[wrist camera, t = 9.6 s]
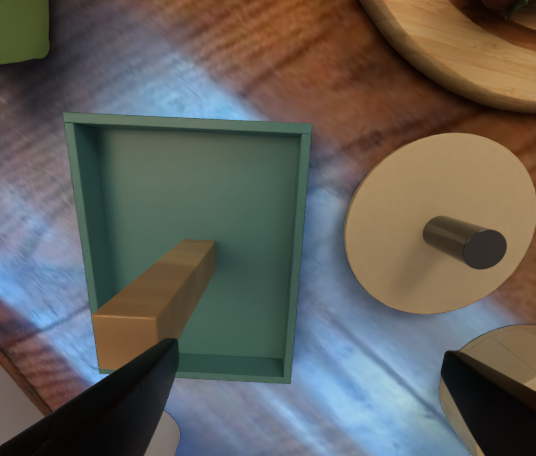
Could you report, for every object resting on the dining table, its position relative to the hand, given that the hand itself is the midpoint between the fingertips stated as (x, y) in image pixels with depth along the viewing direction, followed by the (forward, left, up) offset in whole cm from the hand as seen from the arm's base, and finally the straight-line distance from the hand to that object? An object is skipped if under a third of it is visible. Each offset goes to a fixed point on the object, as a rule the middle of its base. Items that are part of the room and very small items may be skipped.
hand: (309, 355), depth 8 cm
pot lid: (+2, -11, -11) cm, 15 cm away
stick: (-1, +7, -11) cm, 13 cm away
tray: (-1, +7, -12) cm, 14 cm away
